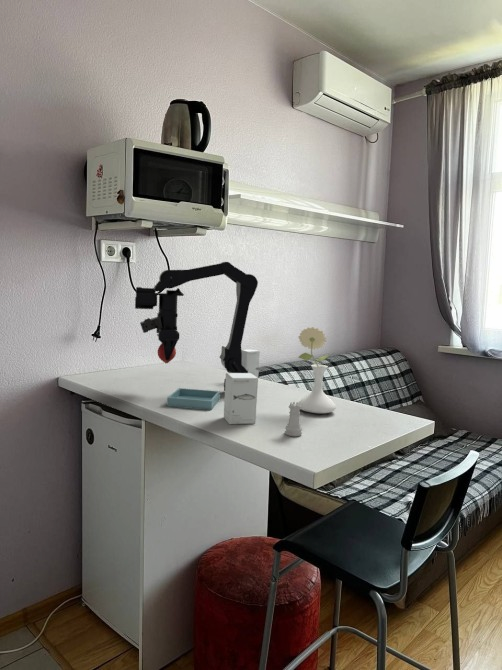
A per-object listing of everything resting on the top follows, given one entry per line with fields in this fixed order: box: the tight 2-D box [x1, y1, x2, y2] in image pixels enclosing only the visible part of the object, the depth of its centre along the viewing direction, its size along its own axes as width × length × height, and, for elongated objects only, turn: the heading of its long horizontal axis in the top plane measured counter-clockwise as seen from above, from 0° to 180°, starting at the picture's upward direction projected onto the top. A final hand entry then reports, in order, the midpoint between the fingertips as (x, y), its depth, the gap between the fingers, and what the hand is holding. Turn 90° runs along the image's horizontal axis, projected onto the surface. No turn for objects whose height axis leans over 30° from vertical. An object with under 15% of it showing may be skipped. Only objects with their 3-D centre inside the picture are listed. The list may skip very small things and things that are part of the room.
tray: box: [166, 387, 221, 411], centre depth 159 cm, size 13×13×3 cm
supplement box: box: [223, 372, 259, 425], centre depth 142 cm, size 7×7×13 cm
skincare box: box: [241, 349, 261, 379], centre depth 192 cm, size 6×4×12 cm
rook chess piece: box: [284, 401, 303, 438], centre depth 133 cm, size 4×4×8 cm
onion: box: [157, 343, 177, 364], centre depth 168 cm, size 6×6×8 cm
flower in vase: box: [298, 326, 337, 414], centre depth 156 cm, size 13×11×25 cm
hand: (166, 358), depth 168 cm, fingers closed on onion, 6 cm apart
